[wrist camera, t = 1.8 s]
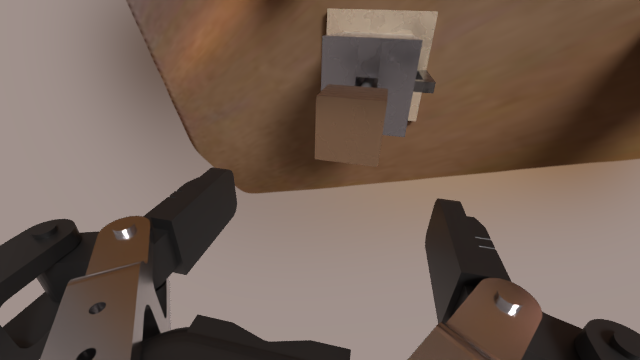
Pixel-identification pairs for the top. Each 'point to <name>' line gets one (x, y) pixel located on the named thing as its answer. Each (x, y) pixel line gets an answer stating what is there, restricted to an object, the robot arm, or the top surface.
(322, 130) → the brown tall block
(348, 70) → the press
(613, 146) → the top surface
